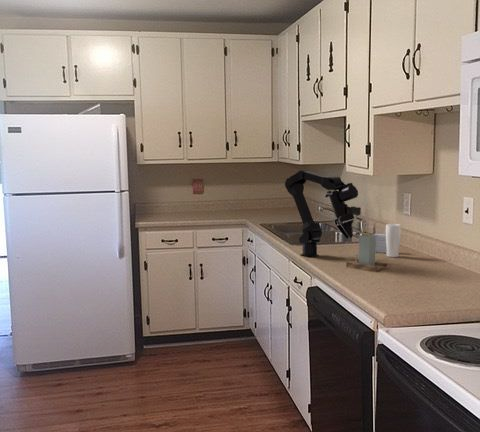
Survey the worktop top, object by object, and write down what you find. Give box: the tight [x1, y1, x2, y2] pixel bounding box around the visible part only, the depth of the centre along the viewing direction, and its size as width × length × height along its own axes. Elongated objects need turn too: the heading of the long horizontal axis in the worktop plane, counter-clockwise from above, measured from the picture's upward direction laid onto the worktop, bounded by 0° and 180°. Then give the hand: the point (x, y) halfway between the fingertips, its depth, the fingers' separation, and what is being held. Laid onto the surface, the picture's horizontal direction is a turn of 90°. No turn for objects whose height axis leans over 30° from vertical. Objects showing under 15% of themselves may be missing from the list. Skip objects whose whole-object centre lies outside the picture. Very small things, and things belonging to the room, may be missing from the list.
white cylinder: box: [385, 223, 402, 258], centre depth 253 cm, size 7×7×15 cm
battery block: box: [358, 232, 376, 266], centre depth 231 cm, size 5×5×14 cm
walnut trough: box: [345, 258, 388, 273], centre depth 232 cm, size 14×10×2 cm
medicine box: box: [373, 233, 387, 254], centre depth 264 cm, size 8×4×9 cm, turn 64°
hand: (349, 238), depth 239 cm, fingers open, 9 cm apart
